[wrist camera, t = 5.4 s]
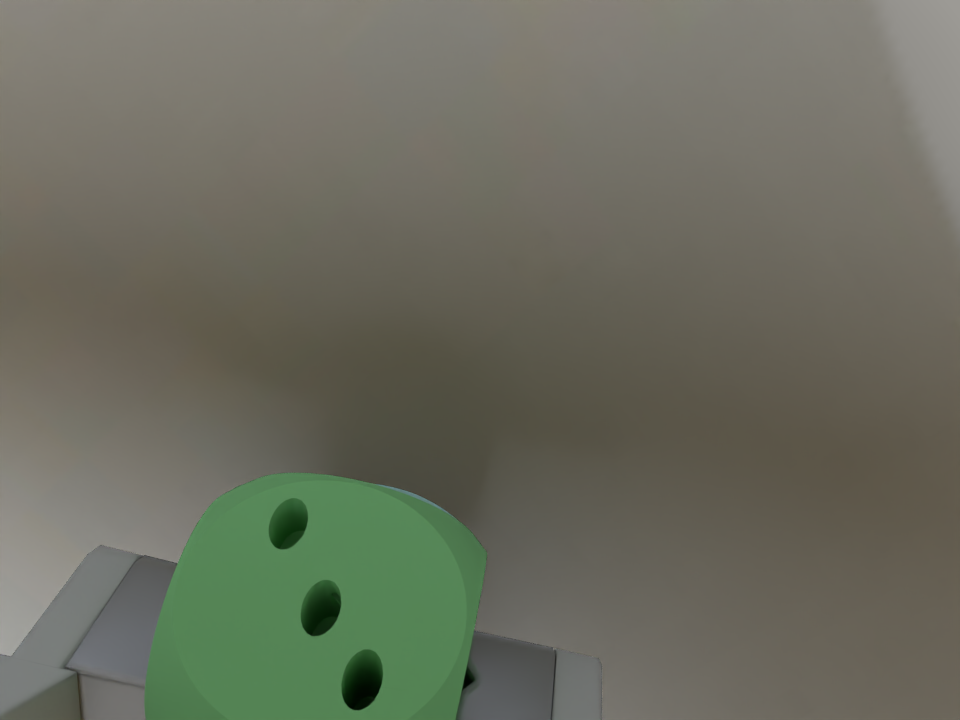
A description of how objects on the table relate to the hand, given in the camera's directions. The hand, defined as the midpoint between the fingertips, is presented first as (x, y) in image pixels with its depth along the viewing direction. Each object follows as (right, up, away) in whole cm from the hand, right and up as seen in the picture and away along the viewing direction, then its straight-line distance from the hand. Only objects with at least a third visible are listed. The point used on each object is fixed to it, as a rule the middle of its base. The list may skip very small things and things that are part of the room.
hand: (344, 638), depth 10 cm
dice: (0, 0, +3) cm, 3 cm away
